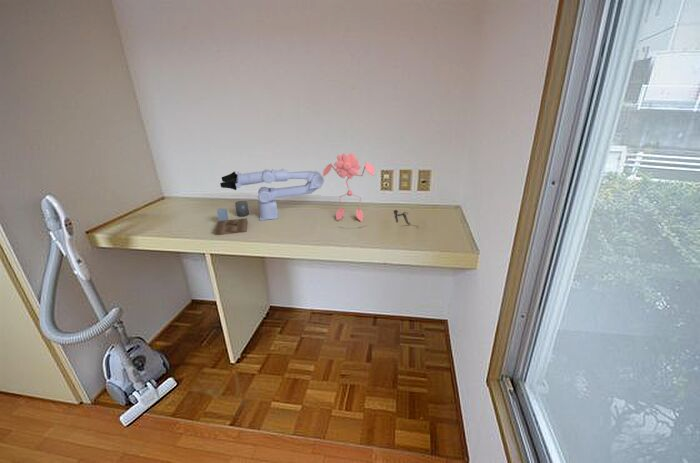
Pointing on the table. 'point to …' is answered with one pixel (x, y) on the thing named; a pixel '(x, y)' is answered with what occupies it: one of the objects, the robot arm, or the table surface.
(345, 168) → the figurine
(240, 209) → the round peg
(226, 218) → the square peg
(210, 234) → the table surface
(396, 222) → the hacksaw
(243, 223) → the socket block
